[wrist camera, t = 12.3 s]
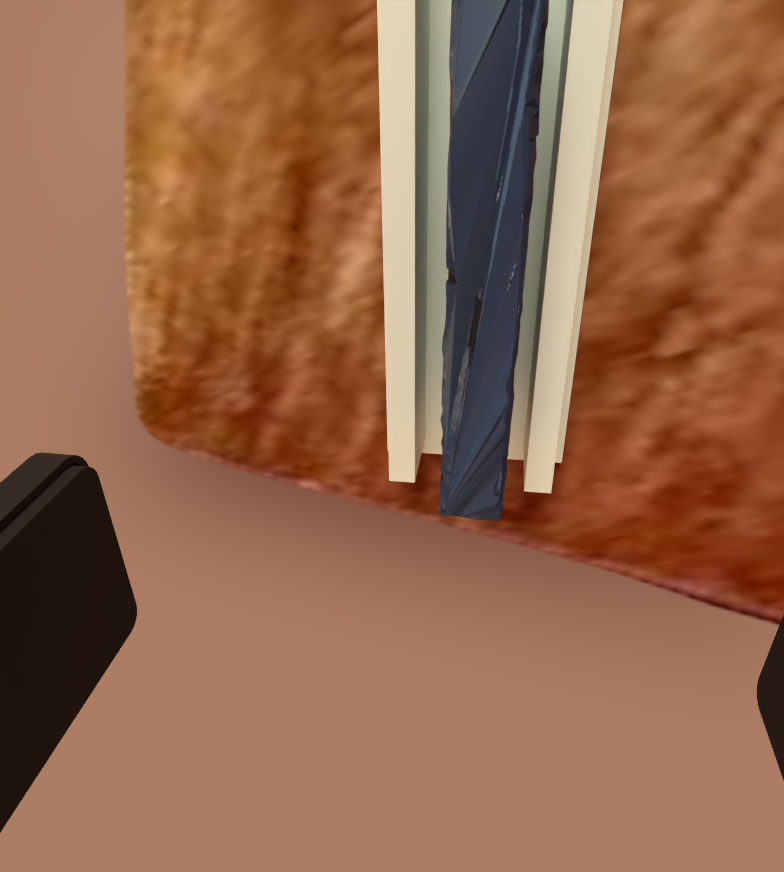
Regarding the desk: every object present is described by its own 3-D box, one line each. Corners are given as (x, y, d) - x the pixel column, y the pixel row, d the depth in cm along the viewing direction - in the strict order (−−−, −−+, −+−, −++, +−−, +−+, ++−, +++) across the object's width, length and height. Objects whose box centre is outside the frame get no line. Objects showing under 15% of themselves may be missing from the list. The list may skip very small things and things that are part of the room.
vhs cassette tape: (505, 400, 33) (501, 526, 25) (445, 395, 33) (420, 517, 25) (559, -63, 24) (581, -117, 15) (474, -63, 24) (450, -116, 16)
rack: (644, -185, 22) (674, -237, 18) (560, 454, 35) (566, 512, 31) (377, -168, 24) (346, -212, 19) (390, 442, 36) (373, 496, 32)
